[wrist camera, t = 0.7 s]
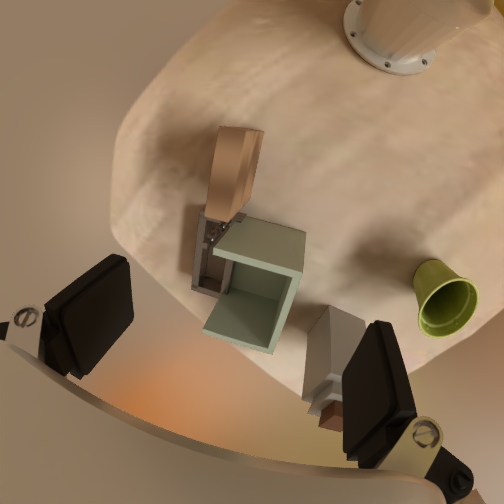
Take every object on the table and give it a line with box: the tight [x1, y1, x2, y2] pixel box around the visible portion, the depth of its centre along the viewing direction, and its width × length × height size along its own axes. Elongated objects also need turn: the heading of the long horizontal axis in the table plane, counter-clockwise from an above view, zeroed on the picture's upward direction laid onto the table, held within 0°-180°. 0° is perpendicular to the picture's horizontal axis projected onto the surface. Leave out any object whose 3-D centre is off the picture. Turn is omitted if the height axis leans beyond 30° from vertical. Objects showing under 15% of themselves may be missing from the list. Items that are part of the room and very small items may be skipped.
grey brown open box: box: [191, 207, 247, 298], centre depth 34 cm, size 13×6×11 cm, turn 169°
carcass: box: [202, 216, 306, 355], centre depth 34 cm, size 12×9×11 cm
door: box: [204, 126, 264, 223], centre depth 29 cm, size 9×3×10 cm, turn 169°
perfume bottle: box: [302, 305, 366, 432], centre depth 33 cm, size 7×7×18 cm
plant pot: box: [413, 260, 479, 339], centre depth 30 cm, size 9×9×9 cm
